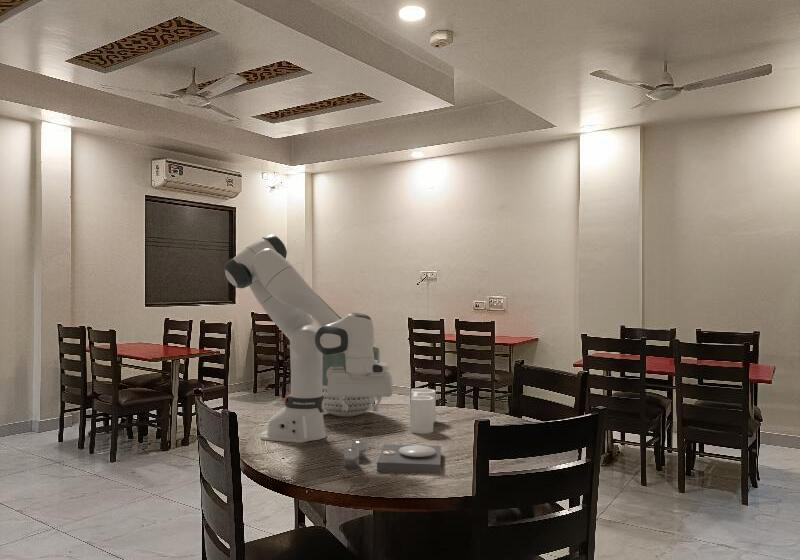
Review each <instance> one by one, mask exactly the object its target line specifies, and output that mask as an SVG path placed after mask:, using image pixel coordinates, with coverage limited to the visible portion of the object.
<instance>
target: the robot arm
mask: <svg viewBox="0 0 800 560" xmlns="http://www.w3.org/2000/svg"><path fill="white" fill-rule="evenodd" d="M287 256H288V251H287V248H286V246H285V244H284V242H283V241H282V240H281V239H280V237H278V236H277V235H274V234H268V235H266V236H263V237H262V238H261V239H259V240H257V241H255V242H253V243H251V244H249V245H248V246H247V247H246V248H244V249H243V250H242V251H240V252H239V253H238V254H237V255H235V256H234V257H233V258H230V259H229V260H227V262H226V263H225V264H224V266H223V271H224V274H225V278H226V279H227V281H228V282H229V283H230V284H232V286H234V288H237V289H245V288H247V287H249V288H250V290H251V292H252V294H253V296H254V297H255V299H256V301H257V302H258V304H259V305H260V306H261V307H262V309H263V310H264V311H265V312H266V314H267V315H268V318H270V320H271V321H272V323H274V324H275V326H277V327H278V329H279V330H280V331H281V332H282V334H284V336H286V338H287V339H288V340H289V356H290V357H289V358H290V359H289V360H290V362H289V363H290V393H289V394H287V395H286V397H285V398H284V402H283V403H284V407H283V408H281V409H280V410H278V411H277V412H276V413H274V415H273V416H271V417H270V419H269V421H268V425H267V429H266V430H264V431H262V433H260V440H263V441H266V440H267V441H277V442H284V443H285V442H287V443H297V444H303V443H306V442H311V441H318V440H322V439H324V438H326V437H327V431H326V427H325V420H324V411H325V410H324V396H323V354H326V355H335V354H340V353H345V366H331V367H330V368H328V370H327V379H328V385H327V394H328V395H329V396H335V397H339V402H340V403H341V405H342V411H348V408H347V407H348V405H345V403H344V401H343V399H344V397H376V400H375V401H377V402H376V403H375V404H373V405H372V412H379V405H380V403H381V401H382V399H383V398H385V397H386V398H390V397H391V396H392V395H393V394H394V387H393V385H394V384H393V379H392V375H391V373H390V372H389V367H390V366H389V364H388V363H387V362H383V361H381V360H379V361H377V360H374V353H373V347H374V343H375V336H374V334H375V333H374V325H373V320H372V317H371V316H369V315H367V314H365V313H359V312H348V313H347V314H346V315H345V316H344V317H341V316H339V314H337V313H336V312H335V311H334V309H332V308H331V307H330V306H329V304H327V302H325V300H323V299H322V297H320V295H318V293H316V292H315V290H314V289H313V288H312V287H311V286H310V285H309V284H308V283H307V281H306V280H305V279H304V277H302V275H301V274H300V273H299V272H298V271H297V269H296V268H295V267H294V266H293V265H292V264H291V263H290V262H289V261H288V260H287ZM316 322H317V323H316ZM318 324H319V325H318ZM320 326H321V327H320ZM382 397H383V398H382Z"/></svg>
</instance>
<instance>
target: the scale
mask: <svg viewBox="0 0 800 560" xmlns="http://www.w3.org/2000/svg"><path fill="white" fill-rule="evenodd" d="M441 454H442V446H439V445H417V444H416V445H412V444H409V445H408V444H385V443H384V444H383V446H382V449H381V452H380V454H379V457H378V459H377V462H376V471H377V472H391V473H414V474H417V473H419V474H441V461H442V460H441V458H442V457H441V456H442V455H441Z"/></svg>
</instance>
